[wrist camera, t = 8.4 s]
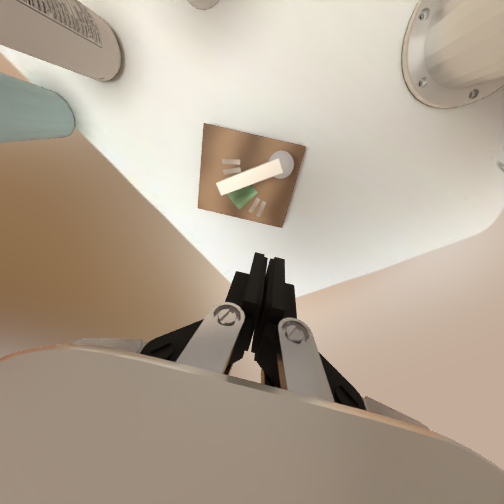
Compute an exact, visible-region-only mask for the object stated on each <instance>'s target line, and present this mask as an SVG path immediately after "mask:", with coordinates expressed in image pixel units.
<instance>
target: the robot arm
mask: <svg viewBox="0 0 504 504" xmlns="http://www.w3.org/2000/svg"><path fill="white" fill-rule="evenodd" d="M419 16H420V17H421V20H420V18H419ZM402 68H403V73H404V78H405V81H406V83H407V85H408V88H409V90H410V91H411V92H412V93H413V95H414V96H415V97H416V98H417V99H418V100H420V101H421V102H423V103H424V104H427V105H430V106H432V107H439V108H450V107H458V106H462V105H466V104H470V103H472V102H475V101H477V100H480V99H483V98H484V97H486V96H488V95H490V94H492V93H493V92H495V91H497V90H498V89H499V88H501V87H502V86H504V0H419V2H418V4H417V6H416V8H415V10H414V13H413V15H412V17H411V19H410V22H409V25H408V28H407V32H406V35H405V38H404V45H403V52H402ZM419 83H420V86H419V85H418V84H419ZM267 259H268V258H266V257H264V254H260V253H256V252H255V255H254V259H253V263H252V267H251V271H250V274H246V273H242V272H238V271H236V273H235V276H234V278H233V281H232V284H231V287H230V289H229V292H228V295H227V298H226V300H225V302H222V303H218V304H216V305H214V306H213V307H212V309H211V310H210V311H209V313H208V314H207V316H206V317H205V319H203V320H201V321H198V322H195V323H193V324H191V325H188V326H186V327H183V328H180V329H178V330H176V331H173V332H170V333H168V334H165V335H163V336H160V337H158V338H155V339H153V340H152V341H150V342H149V343H145V342H142V340H141V339H138V340H137V339H106V338H86V339H80V340H77V341H75V342H72V343H70V344H62V345H52V346H42V347H37V348H31V349H27V350H22V351H18V352H15V353H12V354H9V355H6V356H4V357H2V358H0V504H504V470H503V469H501V468H499V467H498V466H497V465H495V464H494V463H492V462H491V461H489V460H488V459H486V458H484V457H483V456H481V455H479V454H478V453H476V452H474V451H473V450H471V449H470V448H468V447H466V446H463V445H462V444H460V443H458V442H456V441H454V440H452V439H450V438H448V437H445V436H443V435H441V434H438V433H436V432H434V431H431V430H430V429H428V427H427V426H425V425H423V424H422V423H420V422H419V421H417V420H415V419H413V418H410V417H408V416H406V415H404V414H402V413H400V412H398V411H396V410H394V409H392V408H390V407H388V406H385V405H383V404H382V403H379V402H377V401H375V400H373V399H371V398H369V397H365V398H362V397H361V396H360V394H359V393H358V392H357V391H356V389H355V388H354V387H353V386H352V385H351V384H350V383H349V382H348V381H347V380H346V379H345V378H344V377H343V376H342V375H341V374H340V373H339V372H338V371H337V370H336V369H335V368H334V367H333V366H332V365H331V364H330V363H329V362H328V361H327V360H326V359H325V358H324V357H323V356H322V355H321V354H320V353H319V352H318V350H317V346H316V343H315V340H314V337H313V334H312V332H311V330H310V329H309V327H308V326H307V325H306V324H305V323H304V322H302V321H300V320H298V319H297V314H296V302H295V291H294V285H292V284H287V283H285V260H284V259H281V258H277V257H274V259H270V261H269V265H268V268H267V272H266V267H267ZM253 332H254V335H253ZM252 336H253V342H252V349H251V352H253V353H255V358H254V361H257V363H258V364H259V365H260V367H261V368H262V369H261V384H260V383H256V382H253V381H248V380H245V379H240V378H237V377H233V376H229V374H230V372H231V369H232V366H233V363H234V362H236V361H238V360H240V359H241V358H242V357H243V354H244V351H248V349H249V345H250V342H251V339H252Z"/></svg>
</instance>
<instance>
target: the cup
mask: <svg viewBox="0 0 504 504" xmlns="http://www.w3.org/2000/svg"><path fill="white" fill-rule="evenodd" d="M74 127H75V120H74V116H73V113H72V111H71V109H70V107H69V105H68V104H67V103H66V101H65V100H64V99H63V98H62V97H61V96H59V95H58V94H56V93H55V92H52V91H50V90H47V89H45V88H42V87H39V86H36V85H34V84H31V83H28V82H25V81H22V80H20V79H17V78H14V77H12V76H9V75H6V74H3V73H1V72H0V143H3V142H15V141H26V140H38V139H49V138H59V137H66V136H69V135H71V134H72V132H73V130H74Z"/></svg>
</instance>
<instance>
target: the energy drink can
mask: <svg viewBox="0 0 504 504" xmlns="http://www.w3.org/2000/svg"><path fill="white" fill-rule="evenodd" d="M0 45H3V46H6V47H9V48H11V49H14V50H17V51H19V52H22V53H25V54H28V55H30V56H33V57H36V58H38V59H41V60H44V61H47V62H49V63H52V64H55V65H57V66H60V67H63V68H66V69H68V70H71V71H74V72H76V73H79V74H82V75H85V76H87V77H90V78H93V79H95V80H99V81H108V80H110V79H112V78H113V77H114V76H115V75H116V74H117V73H118V71H119V69H120V66H121V53H120V48H119V45H118V43H117V40H116V37H115V35H114V33H113V31H112V30H111V28H110V27H109V25H108V24H107V23H106V22H105V21H104V20H103V19H102V18H101V17H99V16H98V15H97V14H95V13H94V12H92V11H91V10H90V9H88V8H87V7H86V6H84V5H83V4H81V3H80V2H79V1H77V0H0Z"/></svg>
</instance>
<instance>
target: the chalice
mask: <svg viewBox="0 0 504 504" xmlns="http://www.w3.org/2000/svg"><path fill="white" fill-rule="evenodd" d="M188 1H189V3H190V4H191V5H193V6H194V7H196V8H197V9H203V10H205V9H209V8H212V7H213V6H214V5H215V4H216V3H218V1H219V0H188Z"/></svg>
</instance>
